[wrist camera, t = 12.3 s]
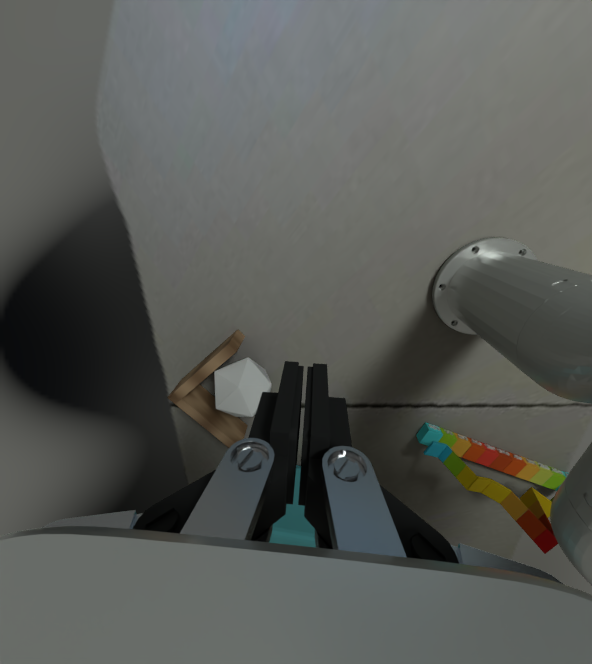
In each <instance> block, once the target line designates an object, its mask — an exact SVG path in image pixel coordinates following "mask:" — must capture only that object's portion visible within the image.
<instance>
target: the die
mask: <svg viewBox="0 0 592 664" xmlns="http://www.w3.org/2000/svg"><path fill="white" fill-rule="evenodd" d="M214 375H215V402H216V409H218V410H220V411H223V412H225V413H228V414H230V415H233V416H235V417H253V416H254V415H255V414H256V411H257V408H258V405H259V401H260V398H261V395H262V392H270V390H271V385H272V384H271V382H270V380H269V377H268V375H267V373H266V370H265V369H264V368H262V367H261V366H260V365H258V364H257V363H255V362H254V361H253V360H251V359H250V358H249V357H248V358H245V359H242V360H239V361H236V362H234V363H231V364H229V365H227V366H225V367H223V368H221V369H218V370H216V371H214Z"/></svg>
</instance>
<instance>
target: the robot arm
mask: <svg viewBox="0 0 592 664" xmlns="http://www.w3.org/2000/svg"><path fill="white" fill-rule="evenodd" d="M473 247H474V249H473V250H472V248H473ZM519 251H520V252H519ZM440 284H441V287H439V285H440ZM432 299H433V305H434V308H435V311H436V313H437V314H438V316H439V318H440V319H441V320H442V321H443V322H444V323H445V324H446V325H447V326H449V327H450V328H452V329H454V330H456V331H458V332H461V333H465V334H473V335H479V336H480V337H481V338H482V339H484V340H485V341H486V342H487V343H488V344H490V345H491V346H492V347H493V348H494V349H496V350H497V351H498V352H499V353H501V354H502V355H503V356H504V357H505V358H507V359H508V360H509V361H510V362H511V363H513V364H514V365H515V366H516V367H517V368H519V369H520V370H521V371H522V372H524V373H525V374H526V375H527V376H529V377H530V378H531V379H532V380H533V381H535V382H536V383H537V384H538V385H540V386H541V387H543V388H544V389H546V390H547V391H549V392H551V393H553V394H555V395H557V396H560V397H563V398H566V399H569V400H572V401H577V402H583V403H591V404H592V275H590V274H586V273H582V272H578V271H574V270H571V269H567V268H563V267H559V266H555V265H552V264H548V263H544V262H540V261H538V260H537V258H536V256H535V254H534V253H533V252H532V251H531V250H530V248H528V247H527V246H525V245H524V244H523V243H521V242H518V241H516V240H513V239H508V238H501V237H491V238H483V239H480V240H477V241H474V242H471V243H469V244H467V245H465V246H463V247H462V248H460V249H459V250H458V251H456V252H455V253H454V254H453V255H451V256H450V257H449V258H448V259H447V260H446V262H445V263H444V264H443V266H442V267H441V269H440V270H439V272H438V274H437V276H436V278H435V282H434V285H433V291H432ZM452 321H453V322H452ZM303 367H304V366H299V362H288V361H285V364H284V369H283V373H282V378H281V383H280V387H279V392H278V393H272V392H262V395H261V398H260V401H259V405H258V408H257V411H256V415H255V418H254V421H253V425H252V428H251V431H250V435H249V438H246V439H242V440H240V441H237V442H236V443H234V444H233V445H231V447H230V448H229V449H228V450H227V452H226V454H225V455H224V457H223V459H222V460H221V462H220V464H219V466H218V467H217V469H216V470H214V471H213V472H211V473H209V474H207V475H206V476H204V477H202V478H200V479H199V480H197V481H195V482H193V483H192V484H190V485H188V486H186V487H184V488H183V489H181V490H179V491H177V492H176V493H174V494H173V495H170V496H169V497H167V498H165V499H163V500H162V501H160V502H158V503H156V504H155V505H153V506H152V507H150V508H149V509H148V510H146V511H145V512H144V513H142V514H136V511H135V510H133V511H125V512H116V513H109V514H101V515H92V516H86V517H76V518H69V519H62V520H58V521H54V522H51V523H49V524H47V525H46V526H44V527H42V528H37V529H30V530H24V531H17V532H14V533H10V534H6V535H2V536H0V664H592V595H590V594H588V593H586V592H583V591H580V590H578V589H574V588H572V587H569V586H566V585H564V584H563V583H562V582H560V581H559V580H557V579H556V578H555V577H553V576H552V575H550V574H548V573H546V572H544V571H542V570H540V569H537V568H534V567H531V566H528V565H525V564H521V563H518V562H516V561H513V560H509V559H506V558H503V557H500V556H497V555H494V554H491V553H488V552H485V551H482V550H479V549H476V548H473V547H470V546H466V545H463V544H460V543H459V545H458V547H455V546H452V545H450V544H449V542H448V541H447V540H446V539H445V538H444V537H443V536H442V535H441V534H440V533H439V532H437V531H436V530H435V529H434V528H432V527H431V526H430V525H429V524H427V523H426V522H425V521H424V520H423V519H421V518H420V517H419V516H418V515H416V514H415V513H414V512H413V511H411V510H410V509H409V508H408V507H407V506H405V505H404V504H403V503H402V502H400V501H399V500H398V499H397V498H395V497H394V496H393V495H392V494H391V493H389V492H388V491H387V490H386V489H384V488H383V487H382V486H381V485H379V483H378V480H377V478H376V475H375V472H374V470H373V467H372V464H371V463H370V461H369V459H368V458H367V457H366V456H365V455H364V454H363V453H362V452H361V451H359V450H357V449H355V448H352V444H351V436H350V429H349V422H348V414H347V407H346V400H345V398H334V397H328V377H327V364H315V363H313V367H308V372H307V386H306V400H305V414H304V428H303V443H302V457H301V472H300V486H299V501H298V505H302V506H305V507H304V517H305V518H306V519H307V521H308V522H309V523H310V524H311V525H312V526H313V527H314V529H315V535H314V537H315V545H316V548H315V547H306V546H296V545H287V544H277V543H269V541H270V538H271V534H272V530H273V524H274V523H275V522H277V521H278V520H279V519H280V518H282V517H283V516H284V515H286V505H287V504H292V505H293V498H294V486H295V475H296V463H297V452H298V440H299V429H300V415H301V399H302V383H303ZM550 519H551V526H552V529H553V533H554V535H555V538H556V540H557V542H558V544H559V545H560V547H561V549H562V550H563V552H564V554H565V555H566V557H567V558H568V559H569V561H570V562H571V563H572V564H573V566H574V567H575V568H576V569H577V570H578V572H579V573H580V574H581V575H582V576H583V577H584V578H585V579H586V580H587V581H588V582H589V583H590V584H591V585H592V443H591V444H590V445H589V447H588V448H587V450H586V451H585V452H584V454H583V455H582V456H581V458H580V459H579V460H578V462H577V463H576V464H575V466H574V467H573V468H572V470H571V471H570V473H569V474H568V475H567V477H566V479H565V480H564V481H563V483H562V484H561V486H560V487H559V489H558V491H557V492H556V494H555V496H554V499H553V501H552V505H551V510H550Z"/></svg>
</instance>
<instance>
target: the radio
mask: <svg viewBox="0 0 592 664" xmlns="http://www.w3.org/2000/svg"><path fill="white" fill-rule="evenodd" d="M300 472H301V466H298V465H296V475H295V486H294V498H293V505H292V504H287V505H286V515H284V516H283V517H282V518H280V519H279V520H278V521H277V522H275V523H274V524H273V530H272V534H271V538H270V541H269V543H277V544H287V545H296V546H306V547H315V548H316V545H315V537H314V535H315V529H314V527H313V526H312V525H311V524H310V523H309V522H308V521H307V519H306V518H305V517H304V507H305V506H302V505H298V501H299V486H300Z"/></svg>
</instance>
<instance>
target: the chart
mask: <svg viewBox="0 0 592 664" xmlns="http://www.w3.org/2000/svg"><path fill="white" fill-rule="evenodd" d="M416 436H417V438H418V441H419V443H421V444H424V445H427V446H428V448H427V449H426V450H425V451H424V455H429V456H433V457H438V458H439V459H440V460H441V461H442V462H443V463H444V465H445V466H446V467H447V468H448V469H449V470H450V471H451V473H452V474H453V475H454V476H455V477H456V478H457V479H458V481H459V482H460V483H461V484H462V485H463V486H464V487H465V488H466V489H467V490H469V491H474V492H480V493H482V494H484V495H486V496H488V497H489V498H491V499H493V500H495V501H496V502H498V503H500V504H501V505H502V506H503V507H504V509H505V510H506V511H507V512H508V513H509V514H510V515H511V516H512V518H513V519H514V520H515V521H516V522H517V523H518V524H519V525H520V526H521V528H522V529H523V530H524V531H525V532H526V533H527V534H528V535H529V537H530V538H531V539H532V540H533V541H534V542H535V543H536V544H537V545H538V547H539V548H540V549H541V550H542V551H543V552H544V553H547V552H548V551H549V550H551V549H552V548H553V547H554V546H556V545H557V544H558V542H557V540H556V538H555V535H554V533H553V529H552V526H551V524H550V522H549V520H548V517H550V510H551V505H552V501H553V499H554V497H553V498H552V499H551V500H549V499H547V498H546V497H545V496H543V495H542V494H540V493H539V492H538V491H536V490H535V489H534V488H532V487H531V488H530V489H529V490H528V491H527V492H526V493H525V494H523V495H522V496H521V497H520V499H519V498H518V497H517V496H516V495H515V494H514V493H513V492H512V491H511V490H510V489H508V488H506V487H505V486H503V485H501V484H499V483H498V482H496V481H494V480H492V479H490V478H484V477H479V476H476V475H475V474H474V473H473V471H472V470H471V469H470V468H469V467H468V466H467V465H466V464H465V463H464V462H463V461H462V460H461V459H460V458H459V457H462V458H464V459H467V460H470V461H473V462H476V463H479V464H481V465H484V466H487V467H490V468H493V469H496V470H499V471H501V472H504V473H507V474H510V475H513V476H516V477H518V478H521V479H524V480H527V481H530V482H533V483H536V484H538V485H541V486H544V487H547V488H550V489H553V490H556V491H558V489H559V487H560V486H561V484H562V483H563V481H564V480H565V479H566V477H567V475H568V474H569V473H568V472H567V473H566V472H563V471H560V470H557V469H554V468H552V467H549V466H546V465H543V464H540V463H538V462H535V461H534V460H533V461H532V460H529V459H526V458H524V457H521V456H518V455H515V454H512V453H510V452H507V451H504V450H501V449H498V448H496V447H493V446H490V445H487V444H484V443H482V442H479V441H476V440H473V439H471V438H468V437H466V436H462V435H459V434H457V433H454V432H452V431H448V430H445V429H443V428H440V427H437V426H434V425H431V424H429V423H426V422H425V424H424V425H423V426H422V428H421V429H420V430H419V432H418V433H417V435H416ZM458 456H459V457H458Z"/></svg>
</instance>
